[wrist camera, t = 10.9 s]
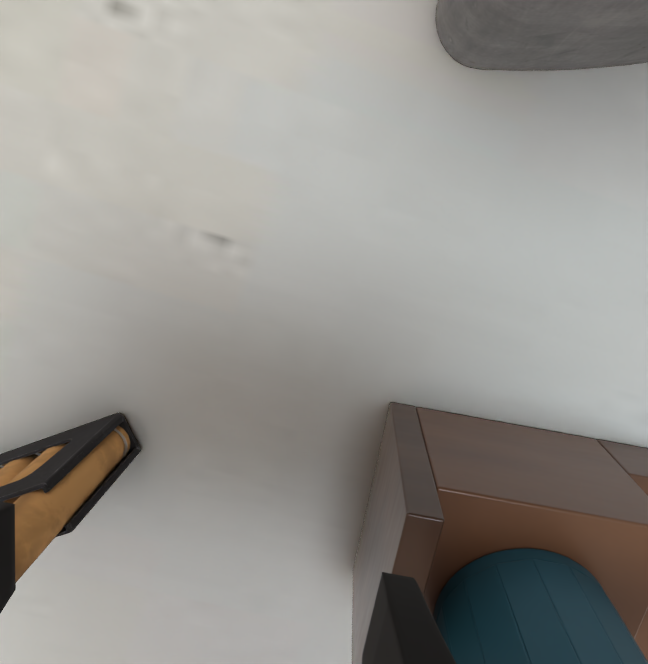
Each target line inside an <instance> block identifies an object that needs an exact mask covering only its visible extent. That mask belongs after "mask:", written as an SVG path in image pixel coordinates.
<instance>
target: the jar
mask: <svg viewBox="0 0 648 664" xmlns="http://www.w3.org/2000/svg"><path fill="white" fill-rule="evenodd" d="M433 618H434V620H435V622H436V624H437V626H438V628H439V630H440V632H441V634H442V636H443V638H444V640H445V642H446V644H447V646H448V648H449V650H450V652H451V654H452V656H453V658H454V660H455V662H456V664H648V661H647V659H646V658H645V656H644V654H643V653H642V651H641V650H640V648H639V646H638V645H637V643H636V641H635V640H634V638H633V636H632V635H631V633H630V631H629V630H628V628H627V626H626V625H625V623H624V621H623V620H622V618H621V616H620V615H619V613H618V611H617V610H616V608H615V607H614V605H613V604H612V602H611V601H610V599H609V598H608V596H607V595H606V593H605V591H604V590H603V588H602V586H601V585H600V583H599V582H598V581H597V579H596V578H595V577H594V576H593V575H592V574H591V573H590V572H589V571H588V570H587V569H586V568H584V567H583V566H581V565H580V564H578V563H577V562H575V561H573V560H571V559H570V558H568V557H565V556H563V555H560V554H557V553H554V552H550V551H546V550H540V549H529V548H519V549H508V550H503V551H498V552H495V553H491V554H488V555H485V556H483V557H481V558H478V559H476V560H474V561H473V562H471V563H469V564H467V565H466V566H464V567H463V568H462V569H461V570H459V571H458V572H457V573H456V574H455V575H454V576H453V577H452V578H451V579H450V580H449V581H448V582H447V584H446V585H445V586H444V588H443V589H442V591H441V593H440V595H439V597H438V600H437V602H436V605H435V610H434V615H433Z"/></svg>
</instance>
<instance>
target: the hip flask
mask: <svg viewBox="0 0 648 664" xmlns="http://www.w3.org/2000/svg"><path fill="white" fill-rule="evenodd" d="M436 26H437V32H438V35H439V38H440V41H441V43H442V44H443V46H444V48H445V50H446V51H447V52H448V53H449V54H450V55H451V56H452V58H454V59H455V60H456V61H458V62H459V63H461V64H463V65H465V66H468V67H470V68H476V69H491V70H566V69H585V68H598V67H609V66H620V65H630V64H638V63H645V62H648V0H438V3H437V8H436Z"/></svg>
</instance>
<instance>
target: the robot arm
mask: <svg viewBox="0 0 648 664" xmlns="http://www.w3.org/2000/svg"><path fill="white" fill-rule="evenodd" d="M14 591H15V504H12V503H7V502H1V501H0V613H1V611H2V610H3V608H4V607H5V605H6V604H7V602H8V600H9V599H10V597H11V596H12V594H13V592H14ZM362 664H456V662H455V660H454V658H453V656H452V654H451V652H450V650H449V648H448V646H447V644H446V642H445V640H444V638H443V636H442V634H441V632H440V630H439V628H438V626H437V624H436V622H435V620H434V618H433V616H432V614H431V612H430V609H429V607H428V605H427V603H426V601H425V599H424V596H423V594H422V592H421V590H420V587H419V585H418V583H417V582H416V580H415V579H414V578H412V577H407V576H402V575H396V574H391V573H385V572H382V575H381V579H380V583H379V587H378V591H377V595H376V599H375V604H374V608H373V612H372V616H371V620H370V624H369V628H368V632H367V636H366V641H365V645H364V649H363V653H362Z"/></svg>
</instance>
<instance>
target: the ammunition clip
mask: <svg viewBox="0 0 648 664" xmlns="http://www.w3.org/2000/svg"><path fill="white" fill-rule="evenodd" d="M140 451H141V448H140V447H139V445H138V443H137V441H136V439H135V437H134V435H133V433H132V431H131V429H130V428H129V426H128V424H127V422H126V420H125V418H124V416H123V415H122V414H120V413H116V414H114V415H111V416H108V417H105V418H102V419H99V420H96V421H94V422H91V423H88V424H85V425H82V426H79V427H77V428H74V429H71V430H68V431H65V432H62V433H60V434H57V435H54V436H51V437H48V438H45V439H42V440H40V441H37V442H34V443H31V444H28V445H25V446H23V447H20V448H17V449H14V450H11V451H8V452H6V453H3V454H0V501H1V502H7V503H12V504H15V583H16V582H17V581H18V579H19V578H20V577H21V576H22V575H23V574H24V572H25V571H26V570H27V569H28V568H29V567H30V566H31V564H32V563H33V562H34V561H35V560H36V559H37V557H38V556H39V555H40V554H41V553H42V552H43V551H44V549H45V548H46V547H47V546H48V545H49V544H50V542H51V541H52V540H53V539H54V538H55V537H57V536H61V535H64V534H67V533H70V532H72V531H73V530H74V529H75V528H76V526H77V525H78V524H79V523H80V522H81V521H82V519H83V518H84V517H85V516H86V515H87V514H88V512H89V511H90V510H91V509H92V508H93V507H94V505H95V504H96V503H97V502H98V501H99V499H100V498H101V497H102V496H103V495H104V494H105V492H106V491H107V490H108V489H109V488H110V487H111V485H112V484H113V483H114V482H115V481H116V480H117V478H118V477H119V476H120V475H121V474H122V472H123V471H124V470H125V469H126V468H127V467H128V465H129V464H130V463H131V462H132V461H133V460H134V458H135V457H136V456H137V455H138V454H139V453H140Z"/></svg>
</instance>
